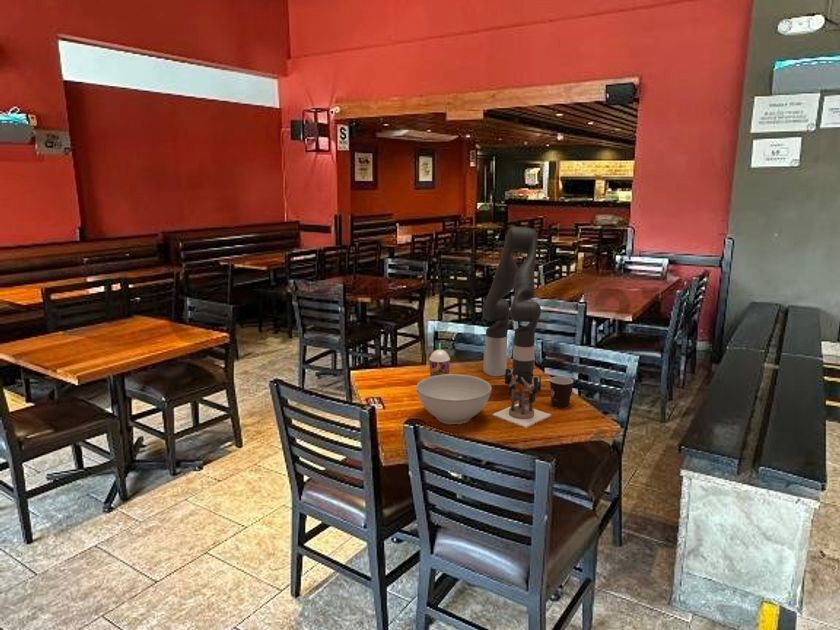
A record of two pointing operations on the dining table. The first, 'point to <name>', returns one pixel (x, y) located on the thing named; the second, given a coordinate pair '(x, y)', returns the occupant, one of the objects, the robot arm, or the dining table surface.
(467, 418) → the decorative bowl
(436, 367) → the smoothie
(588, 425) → the dining table surface
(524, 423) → the mat
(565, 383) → the coffee mug
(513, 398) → the stool
